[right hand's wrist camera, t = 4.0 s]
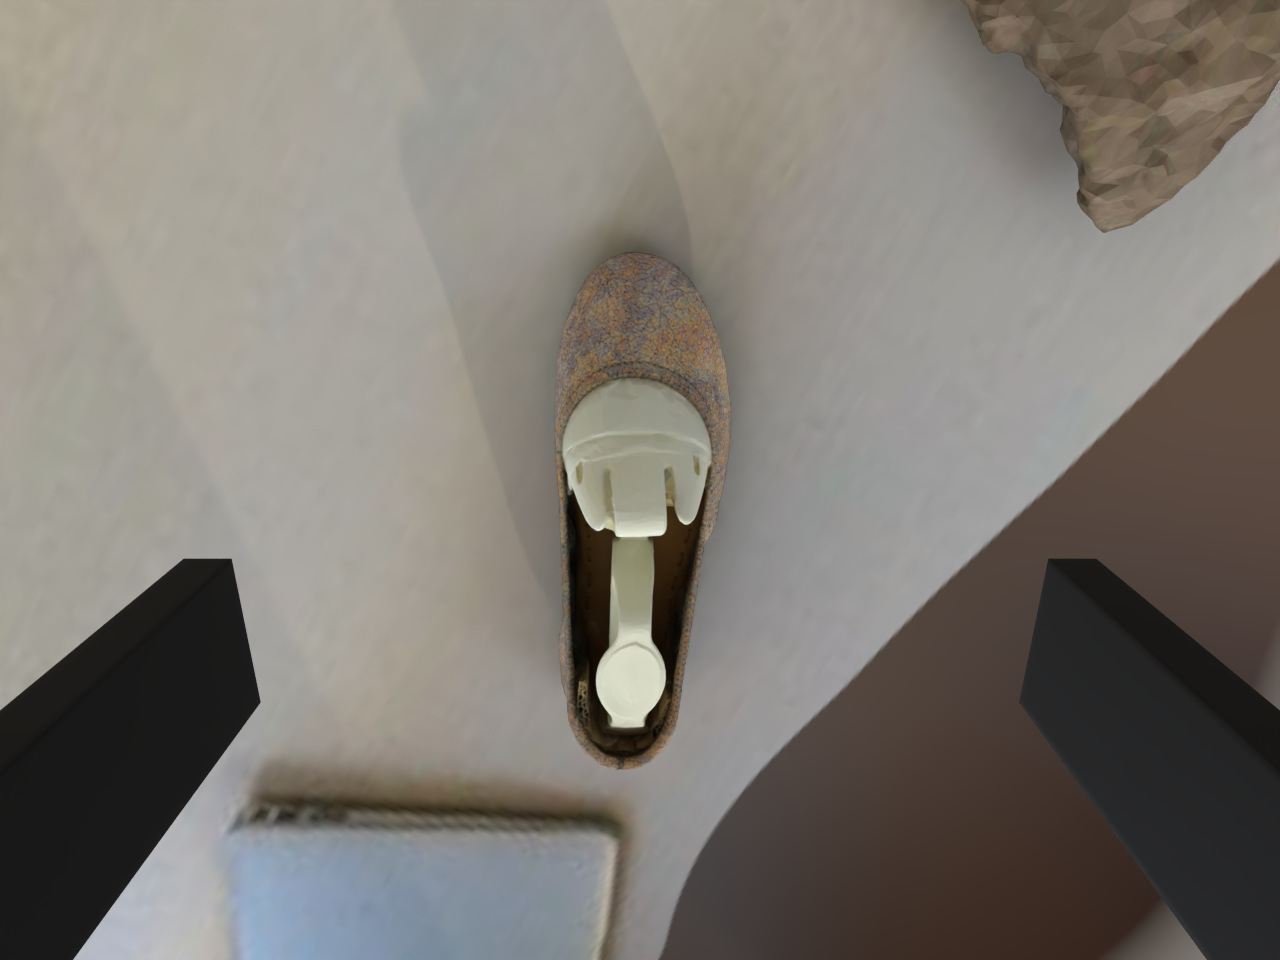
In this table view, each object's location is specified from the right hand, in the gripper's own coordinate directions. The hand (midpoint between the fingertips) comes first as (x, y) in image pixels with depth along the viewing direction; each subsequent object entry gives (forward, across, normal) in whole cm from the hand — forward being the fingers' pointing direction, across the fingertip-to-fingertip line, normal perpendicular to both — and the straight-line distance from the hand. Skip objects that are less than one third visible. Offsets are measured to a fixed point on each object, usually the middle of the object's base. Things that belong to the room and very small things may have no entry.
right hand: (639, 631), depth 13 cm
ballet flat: (+26, 0, -8) cm, 27 cm away
